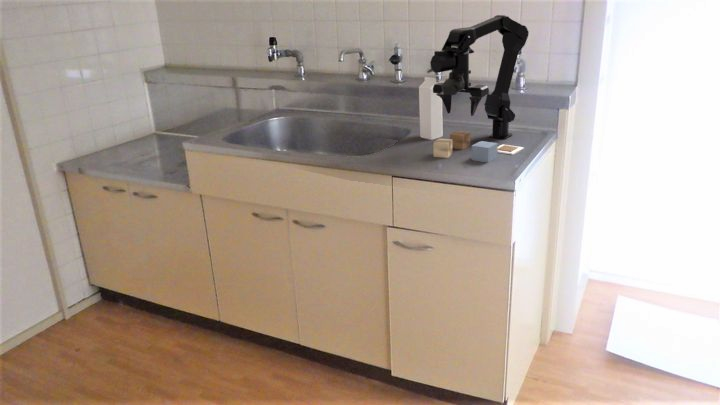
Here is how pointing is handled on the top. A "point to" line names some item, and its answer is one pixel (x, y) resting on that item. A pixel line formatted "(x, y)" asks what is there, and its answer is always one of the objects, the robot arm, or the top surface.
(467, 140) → the walnut block
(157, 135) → the top surface
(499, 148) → the swatch
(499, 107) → the robot arm
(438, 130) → the milk
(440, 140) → the maple block
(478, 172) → the top surface
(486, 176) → the top surface
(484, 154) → the base block
